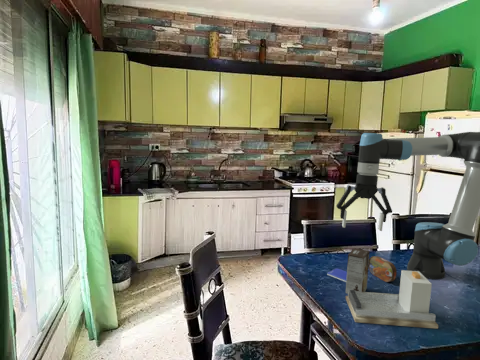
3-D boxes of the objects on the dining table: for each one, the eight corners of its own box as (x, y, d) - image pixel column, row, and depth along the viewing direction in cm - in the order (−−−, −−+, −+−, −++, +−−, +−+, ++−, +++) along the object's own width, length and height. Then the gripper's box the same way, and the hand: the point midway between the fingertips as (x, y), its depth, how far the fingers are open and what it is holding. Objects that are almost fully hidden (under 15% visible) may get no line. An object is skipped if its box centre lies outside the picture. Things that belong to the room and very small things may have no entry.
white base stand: (418, 302, 123) (419, 293, 123) (434, 322, 110) (436, 312, 109) (347, 297, 126) (348, 288, 125) (356, 316, 113) (356, 306, 112)
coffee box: (350, 284, 139) (353, 247, 137) (367, 288, 136) (370, 250, 134) (344, 293, 131) (347, 254, 129) (361, 298, 128) (365, 257, 126)
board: (417, 303, 125) (418, 300, 124) (438, 328, 109) (438, 325, 109) (345, 298, 127) (345, 295, 127) (355, 322, 112) (355, 318, 111)
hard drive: (327, 272, 148) (352, 282, 139) (337, 267, 154) (362, 277, 145) (326, 275, 149) (352, 286, 139) (337, 271, 154) (362, 280, 145)
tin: (366, 271, 154) (368, 253, 152) (372, 270, 154) (374, 252, 153) (390, 285, 139) (392, 266, 138) (397, 284, 140) (398, 265, 139)
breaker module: (415, 302, 122) (419, 268, 120) (427, 318, 112) (432, 280, 110) (398, 301, 122) (401, 267, 120) (409, 316, 112) (412, 279, 110)
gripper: (335, 172, 126) (329, 228, 129) (405, 177, 122) (398, 234, 125) (332, 170, 133) (327, 223, 136) (398, 175, 130) (392, 228, 133)
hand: (361, 228), depth 131 cm, fingers open, 13 cm apart
